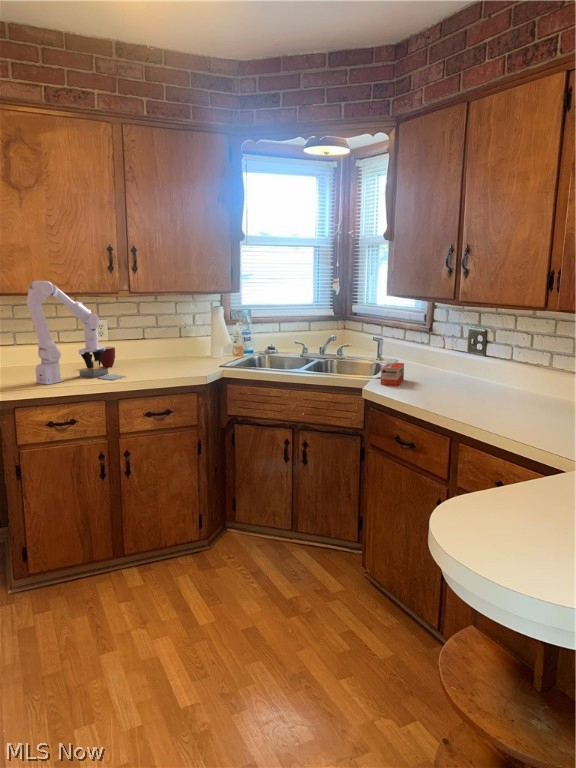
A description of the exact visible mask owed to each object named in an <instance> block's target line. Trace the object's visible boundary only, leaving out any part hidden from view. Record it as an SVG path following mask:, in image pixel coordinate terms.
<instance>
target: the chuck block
mask: <svg viewBox="0 0 576 768" xmlns="http://www.w3.org/2000/svg"><path fill="white" fill-rule="evenodd" d="M78 373H79V377H80V376H81V377H80V378H88V377H89V378H90V379H97V378H98V377H100V376H102V377H103V376H104V375H106V376H107V374H108V375H109V368H104V367H99V370H95V371H92V370H88V368H87V367H86V368H84V369H79V370H78ZM96 377H97V378H96ZM89 378H88V379H89Z"/></svg>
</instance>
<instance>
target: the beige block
mask: <svg viewBox="0 0 576 768" xmlns="http://www.w3.org/2000/svg"><path fill="white" fill-rule="evenodd" d="M99 368H100V367H99V361H96V360H94V359H92V368H91V369H89V368H88V370H92V371H95V370H99Z"/></svg>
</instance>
